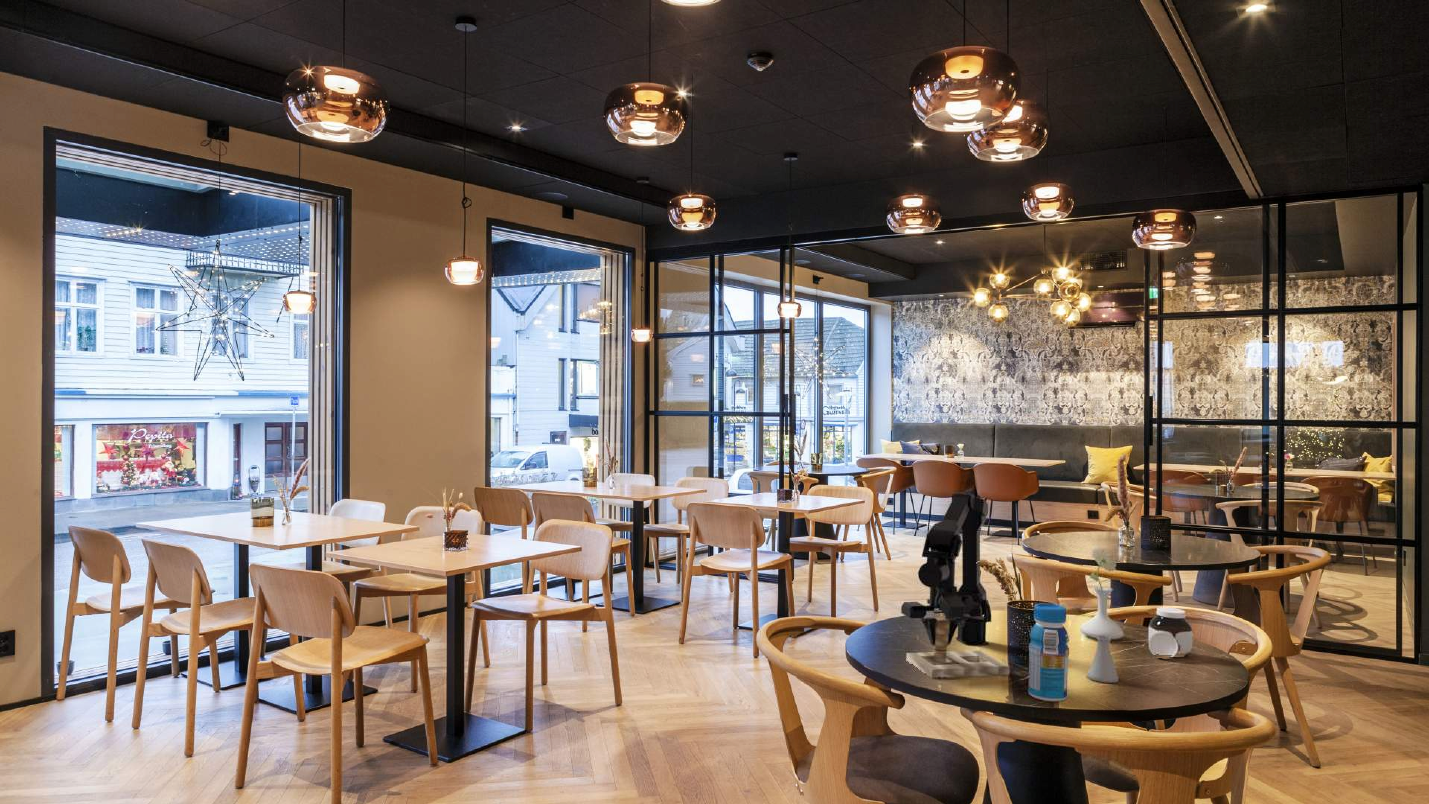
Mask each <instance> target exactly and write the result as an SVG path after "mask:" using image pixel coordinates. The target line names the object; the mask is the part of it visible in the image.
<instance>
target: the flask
mask: <svg viewBox="0 0 1429 804" xmlns="http://www.w3.org/2000/svg"><path fill="white" fill-rule="evenodd" d="M1096 640H1097V648H1096V652H1095V655H1094V656H1093V657H1094V658H1093V660H1092V663H1091V664H1090V667H1089V669H1088V672H1087V673H1086V677H1087V678H1088V679H1090V680H1091V681H1094V682H1095V681H1096V682H1100V683H1107V684H1108V683H1118V682H1119V680H1120V677H1119V675H1118V673H1117V670H1116V666H1115V663H1114V660H1113V658H1112V654H1111V646H1110V645H1111V644H1110V643H1111V640H1112V639H1111V638H1110V637H1108V636H1097V638H1096ZM1118 679H1119V680H1118Z"/></svg>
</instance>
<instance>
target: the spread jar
mask: <svg viewBox="0 0 1429 804" xmlns="http://www.w3.org/2000/svg"><path fill="white" fill-rule="evenodd" d="M1147 638H1148V639H1147V640H1148V648H1149V651H1150V653H1151V654H1152V655H1153V656H1154V655H1155V654H1159V655H1172V656H1171V657H1174V656H1175V655H1176V654H1177V653H1179V654H1180V653H1189V652H1190V653H1191V651H1192V648H1193V638H1194V637H1193V628H1192V626H1191V624H1190V622H1189V621H1188V620H1187V619H1186V611H1185V610H1183V609H1179V608H1174V607H1164V606H1163V607H1161V606H1160V607H1157V608H1156V615H1155V616H1154V617H1153V618H1152V619H1150V622H1149V624H1148V637H1147ZM1190 653H1189V654H1190Z"/></svg>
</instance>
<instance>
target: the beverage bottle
mask: <svg viewBox="0 0 1429 804" xmlns="http://www.w3.org/2000/svg"><path fill="white" fill-rule="evenodd" d="M1033 619H1034V621H1035V623H1034V625H1033V626H1032V628H1031V630H1030V632H1029V638H1030V642H1029V644H1028V651H1029V653H1028V657H1029V658H1028V659H1029V660H1028V687H1027V688H1028V689H1027V692H1028V694H1029V695H1030V696H1031V697H1032V698H1035V699H1037V700H1041V701H1045V702H1062V700H1063V701H1066V699H1067V698H1068V676H1069V675H1068V673H1069V656H1070V648H1069V646H1068V643H1069V641H1070V637H1069V634H1068V631H1067V629H1066V627H1065V626H1064V625H1065V624H1066V621H1067V608H1066V607H1065V606H1064V605H1060V604H1056V603H1046V602H1045V603H1043V602H1042V603H1037V604H1035V605H1034V606H1033Z"/></svg>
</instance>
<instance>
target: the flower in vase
mask: <svg viewBox="0 0 1429 804" xmlns="http://www.w3.org/2000/svg"><path fill="white" fill-rule="evenodd" d="M1091 550H1092V552H1091V553H1092V556H1091V557H1093V558H1094V561H1095V562H1096V563H1097V565H1098V568H1097V571H1096V574H1095V573H1094V572H1091V574H1090V576H1089V578H1090V579H1092V580H1094V581H1096V582H1098V583H1099V584H1098V585H1099V586H1093V587H1092V588H1093V590H1094V592H1095V594H1096V596H1097V597H1096V598H1097V612H1096V614H1095V615H1094V617H1092V618H1090V619H1089V620H1087V621H1085V622H1084V623H1083V624H1081V626H1080V628H1079V630H1080V632H1081V634H1083V635H1085V636H1087V637H1089V638H1093V639H1097V636H1108V637H1110V638H1111V640H1118V639H1120V638H1123V637H1124V635H1125V633H1124V630H1122V628H1121V626H1119V625H1118V624H1117V623H1116V622H1114V620H1113V619H1111V618H1110V616H1109V614H1108V599H1109V596H1110V594H1111V593H1112V591H1113V590H1114V589H1113V588H1111V587H1107V586H1106V587H1105V586H1102V583H1105V582H1106V581H1109V580H1111V578H1112V577H1109V578H1108V579H1105V580H1102V581H1101V580H1100V579H1099V570H1100V568H1102V569H1104V570H1105V571H1108V572H1113V571H1116V570H1117V568H1116V567H1117V563H1116V560H1115V559H1114V555H1113V554H1111V553H1110V552H1109V551H1107V549H1106V548H1102V547H1101V546H1097V547H1093V549H1091Z"/></svg>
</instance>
